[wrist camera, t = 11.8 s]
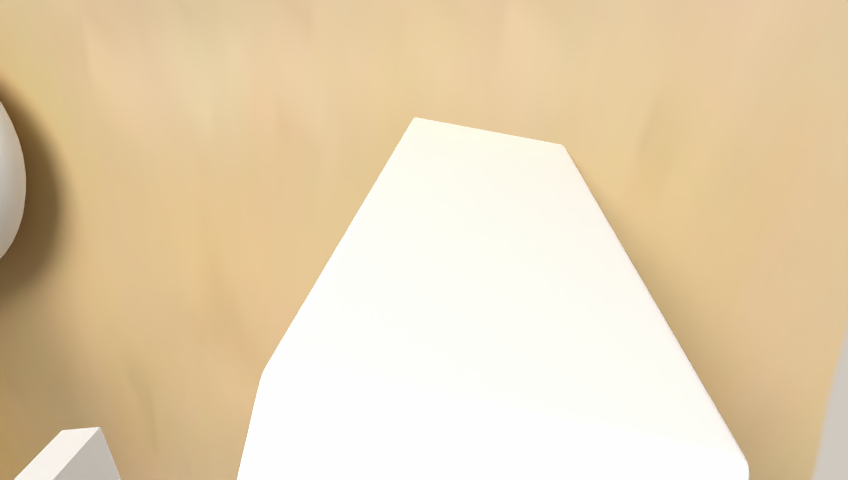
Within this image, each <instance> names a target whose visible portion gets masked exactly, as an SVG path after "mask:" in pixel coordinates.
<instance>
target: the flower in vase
mask: <svg viewBox="0 0 848 480" xmlns="http://www.w3.org/2000/svg"><path fill="white" fill-rule="evenodd" d="M25 195H26V171H25V164H24V157H23V153H22V149H21V146H20V142H19V139H18V136H17V134H16V131H15V129H14V126H13V124H12V121H11V119H10V118H9V116H8V114H7V112H6V110H5V108H4V106H3V105H2V103H1V102H0V259H1V258H2V257H3V256H4V254H5V253H6V251H7V250H8V248H9V247H10V246H11V244H12V242H13V240H14V238H15V236H16V234H17V232H18V230H19V226H20V223H21V219H22V216H23V211H24V203H25Z"/></svg>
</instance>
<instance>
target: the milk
mask: <svg viewBox="0 0 848 480" xmlns="http://www.w3.org/2000/svg"><path fill="white" fill-rule="evenodd" d="M237 480H749V467H748V463H747V460H746V458H745V456H744V455H743V453H742V451H741V449H740V447H739V446H738V444H737V442H736V441H735V439H734V437H733V435H732V434H731V432H730V430H729V428H728V427H727V425H726V423H725V422H724V420H723V418H722V416H721V415H720V413H719V411H718V410H717V408H716V406H715V404H714V403H713V401H712V399H711V398H710V396H709V394H708V392H707V391H706V389H705V387H704V386H703V384H702V382H701V380H700V379H699V377H698V375H697V374H696V372H695V370H694V368H693V367H692V365H691V363H690V362H689V360H688V358H687V356H686V355H685V353H684V351H683V350H682V348H681V346H680V344H679V343H678V341H677V339H676V338H675V336H674V334H673V332H672V331H671V329H670V327H669V325H668V324H667V322H666V320H665V319H664V317H663V315H662V313H661V312H660V310H659V308H658V307H657V305H656V303H655V301H654V300H653V298H652V296H651V295H650V293H649V291H648V289H647V288H646V286H645V284H644V283H643V281H642V279H641V277H640V276H639V274H638V272H637V271H636V269H635V267H634V265H633V264H632V262H631V260H630V259H629V257H628V255H627V253H626V252H625V250H624V248H623V247H622V245H621V243H620V241H619V240H618V238H617V236H616V235H615V233H614V231H613V229H612V228H611V226H610V224H609V222H608V221H607V219H606V217H605V216H604V214H603V212H602V210H601V209H600V207H599V205H598V204H597V202H596V200H595V198H594V197H593V195H592V193H591V192H590V190H589V188H588V186H587V185H586V183H585V181H584V180H583V178H582V176H581V174H580V173H579V171H578V169H577V168H576V166H575V164H574V162H573V161H572V159H571V157H570V156H569V154H568V152H567V150H566V149H565V147H564V146H563V145H560V144H555V143H550V142H545V141H539V140H534V139H529V138H523V137H518V136H513V135H507V134H502V133H497V132H491V131H486V130H481V129H475V128H470V127H465V126H459V125H454V124H448V123H443V122H438V121H432V120H427V119H422V118H414V119H413V120H412V122H411V123H410V125H409V127H408V128H407V130H406V132H405V133H404V135H403V137H402V139H401V140H400V142H399V144H398V145H397V147H396V149H395V150H394V152H393V154H392V155H391V157H390V159H389V160H388V162H387V164H386V165H385V167H384V169H383V170H382V172H381V174H380V176H379V177H378V179H377V181H376V182H375V184H374V186H373V187H372V189H371V191H370V192H369V194H368V196H367V197H366V199H365V201H364V202H363V204H362V206H361V207H360V209H359V211H358V212H357V214H356V216H355V218H354V219H353V221H352V223H351V224H350V226H349V228H348V229H347V231H346V233H345V234H344V236H343V238H342V239H341V241H340V243H339V244H338V246H337V248H336V249H335V251H334V253H333V254H332V256H331V258H330V260H329V261H328V263H327V265H326V266H325V268H324V270H323V271H322V273H321V275H320V276H319V278H318V280H317V281H316V283H315V285H314V286H313V288H312V290H311V291H310V293H309V295H308V297H307V298H306V300H305V302H304V303H303V305H302V307H301V308H300V310H299V312H298V313H297V315H296V317H295V318H294V320H293V322H292V323H291V325H290V327H289V328H288V330H287V332H286V333H285V335H284V337H283V339H282V340H281V342H280V344H279V345H278V347H277V349H276V350H275V352H274V354H273V355H272V357H271V359H270V360H269V362H268V364H267V366H266V367H265V369H264V371H263V374H262V377H261V380H260V383H259V387H258V391H257V395H256V400H255V404H254V408H253V412H252V417H251V421H250V425H249V430H248V434H247V438H246V443H245V447H244V451H243V456H242V460H241V464H240V469H239V473H238V477H237Z"/></svg>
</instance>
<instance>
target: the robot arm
mask: <svg viewBox="0 0 848 480" xmlns="http://www.w3.org/2000/svg"><path fill="white" fill-rule="evenodd" d="M14 480H121V478H120V476H119V473H118V470H117V468H116V465H115V463H114V460H113V458H112V455H111V452H110V450H109V447H108V445H107V442H106V440H105V437H104V435H103V432H102V429H101V427H92V428H82V429H71V430H62V431H61V432H60V433H59V434H58V435H57V436H56V437H55V438H54V439H53V440H52V441H51V442H50V443H49V444H48V445H47V446H46V447H45V448H44V449H43V450H42V451H41V452H40V453H39V454H38V455H37V456H36V457H35V458H34V459H33V460H32V461H31V462H30V463H29V464H28V466H27V467H26V468H25V469H24V470H23V471H22V472H21V473H20V474H19V475H18V476H17V477H16V478H15V479H14Z"/></svg>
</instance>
